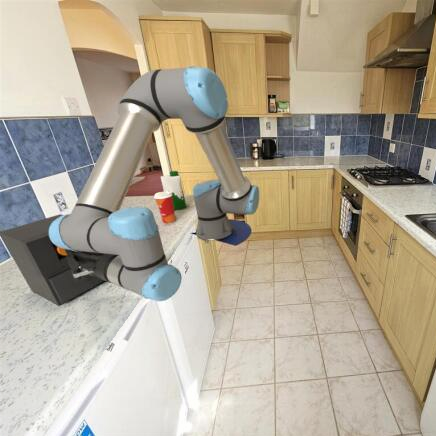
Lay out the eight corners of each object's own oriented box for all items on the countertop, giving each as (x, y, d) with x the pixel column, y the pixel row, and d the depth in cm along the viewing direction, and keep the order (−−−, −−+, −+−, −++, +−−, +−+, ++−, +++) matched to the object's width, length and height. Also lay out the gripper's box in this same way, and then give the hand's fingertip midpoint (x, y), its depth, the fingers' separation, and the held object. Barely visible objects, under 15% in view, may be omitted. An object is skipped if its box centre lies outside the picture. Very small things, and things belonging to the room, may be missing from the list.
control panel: (100, 251, 73) (88, 221, 70) (43, 277, 62) (25, 243, 58) (72, 242, 80) (60, 214, 76) (16, 263, 68) (-2, 232, 64)
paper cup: (161, 219, 120) (154, 192, 115) (178, 216, 123) (172, 190, 117) (160, 225, 114) (152, 196, 108) (177, 222, 116) (171, 194, 111)
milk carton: (188, 207, 134) (181, 172, 126) (171, 212, 129) (162, 175, 121) (182, 204, 140) (175, 169, 132) (166, 208, 135) (157, 172, 127)
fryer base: (110, 277, 77) (100, 251, 73) (59, 306, 66) (43, 277, 62) (83, 266, 83) (72, 242, 80) (31, 291, 72) (16, 263, 68)
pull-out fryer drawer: (112, 278, 75) (104, 256, 72) (65, 304, 65) (52, 281, 62) (84, 266, 82) (75, 246, 79) (36, 289, 71) (24, 267, 68)
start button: (79, 251, 68) (73, 238, 67) (62, 258, 65) (55, 245, 63) (74, 249, 69) (69, 236, 68) (57, 256, 66) (51, 243, 64)
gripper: (98, 299, 52) (43, 273, 62) (152, 266, 63) (98, 249, 72) (85, 270, 49) (30, 247, 59) (144, 241, 60) (89, 226, 69)
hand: (68, 248), depth 66 cm, fingers closed
